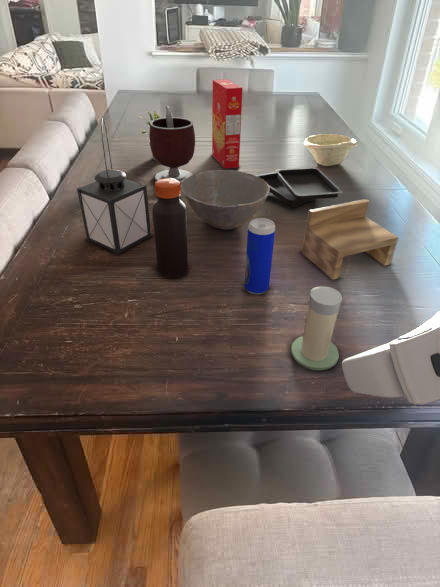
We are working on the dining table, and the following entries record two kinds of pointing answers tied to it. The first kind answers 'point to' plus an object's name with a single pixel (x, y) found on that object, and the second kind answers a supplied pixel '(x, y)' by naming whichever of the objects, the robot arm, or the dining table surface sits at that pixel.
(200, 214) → the ceramic bowl
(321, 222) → the wooden stand
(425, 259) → the dining table surface
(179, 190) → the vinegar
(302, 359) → the coaster
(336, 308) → the cylinder
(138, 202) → the lantern
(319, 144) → the bowl
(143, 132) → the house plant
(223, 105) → the food packaging
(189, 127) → the mate gourd
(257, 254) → the beverage can
